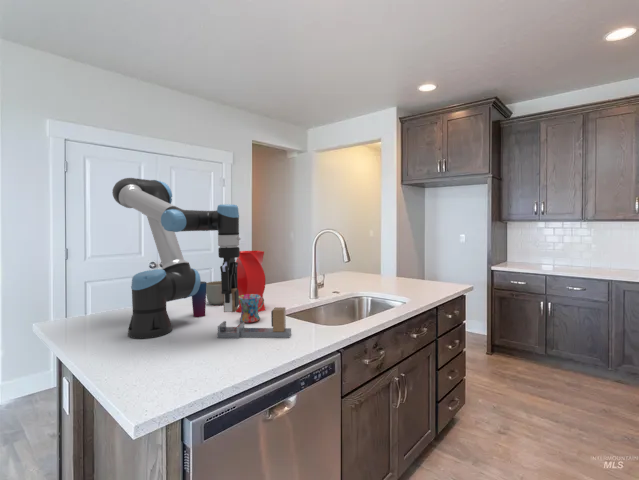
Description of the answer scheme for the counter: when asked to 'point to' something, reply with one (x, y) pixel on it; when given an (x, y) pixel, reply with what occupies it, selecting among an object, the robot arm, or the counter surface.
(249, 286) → the vase
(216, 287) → the planter
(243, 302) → the mug
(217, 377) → the counter surface
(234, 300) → the block
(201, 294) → the cup
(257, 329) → the rail
